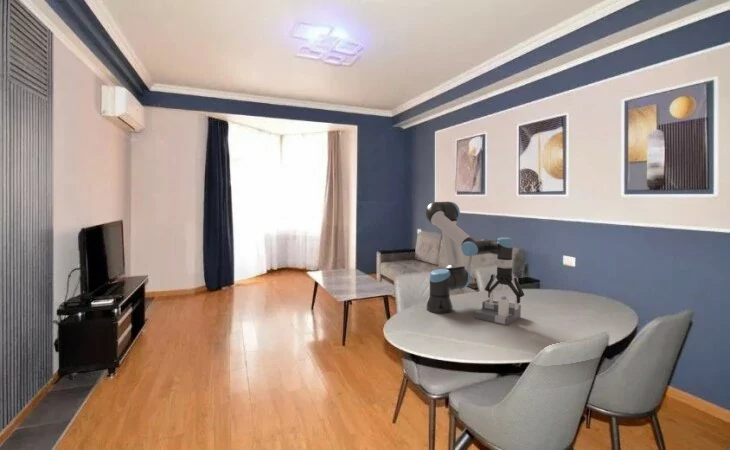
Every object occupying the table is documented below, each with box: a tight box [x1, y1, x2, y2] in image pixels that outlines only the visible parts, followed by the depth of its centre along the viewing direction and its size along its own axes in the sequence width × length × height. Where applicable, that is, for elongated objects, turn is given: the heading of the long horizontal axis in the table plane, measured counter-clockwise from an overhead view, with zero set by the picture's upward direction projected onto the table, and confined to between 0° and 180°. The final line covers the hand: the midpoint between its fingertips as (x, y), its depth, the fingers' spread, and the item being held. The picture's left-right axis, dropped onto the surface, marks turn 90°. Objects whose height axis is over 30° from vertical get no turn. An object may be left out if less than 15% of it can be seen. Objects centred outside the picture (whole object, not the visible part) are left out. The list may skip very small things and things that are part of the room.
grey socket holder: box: [474, 298, 522, 326], centre depth 205 cm, size 18×18×7 cm
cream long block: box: [498, 295, 510, 318], centre depth 198 cm, size 4×4×13 cm
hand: (503, 306), depth 198 cm, fingers open, 13 cm apart
